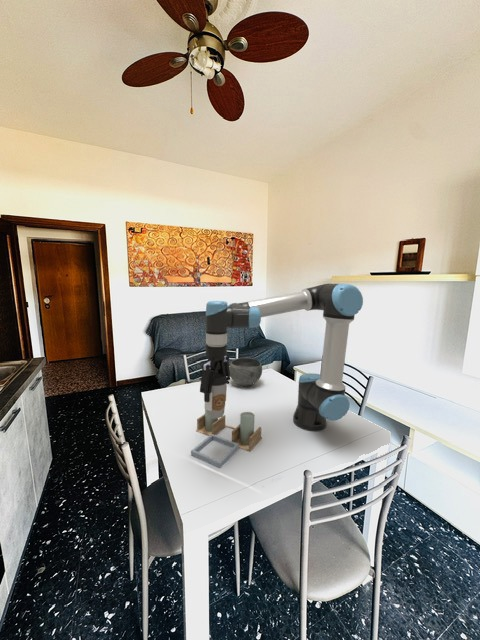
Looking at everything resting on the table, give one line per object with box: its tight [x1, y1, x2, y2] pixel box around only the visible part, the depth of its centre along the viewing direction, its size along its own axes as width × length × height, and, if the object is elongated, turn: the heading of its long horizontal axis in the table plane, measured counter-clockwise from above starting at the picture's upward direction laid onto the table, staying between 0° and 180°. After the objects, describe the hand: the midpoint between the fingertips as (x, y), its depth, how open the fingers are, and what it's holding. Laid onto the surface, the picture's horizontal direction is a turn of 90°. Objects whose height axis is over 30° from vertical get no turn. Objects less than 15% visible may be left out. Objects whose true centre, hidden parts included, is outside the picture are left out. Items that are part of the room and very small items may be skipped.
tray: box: [190, 434, 240, 469], centre depth 100 cm, size 13×13×2 cm
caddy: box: [195, 413, 263, 453], centre depth 111 cm, size 26×11×6 cm, turn 60°
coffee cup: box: [207, 371, 228, 419], centre depth 97 cm, size 8×8×15 cm
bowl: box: [229, 357, 263, 387], centre depth 167 cm, size 21×21×15 cm
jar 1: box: [204, 408, 219, 432], centre depth 115 cm, size 6×6×11 cm
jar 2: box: [239, 411, 255, 445], centre depth 106 cm, size 6×6×11 cm
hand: (215, 404), depth 97 cm, fingers closed on coffee cup, 8 cm apart
